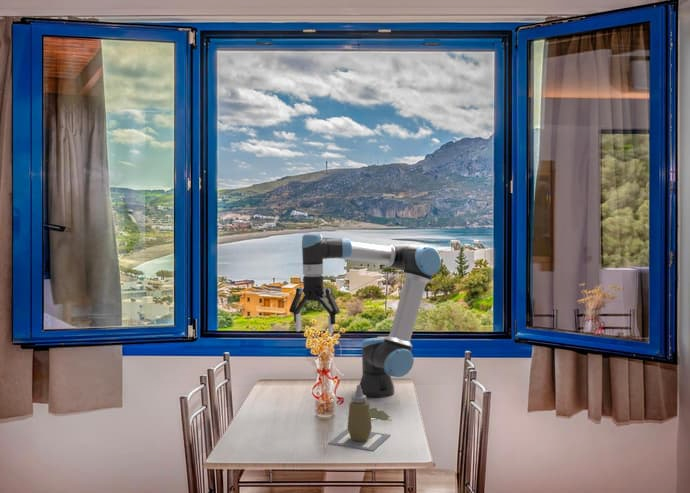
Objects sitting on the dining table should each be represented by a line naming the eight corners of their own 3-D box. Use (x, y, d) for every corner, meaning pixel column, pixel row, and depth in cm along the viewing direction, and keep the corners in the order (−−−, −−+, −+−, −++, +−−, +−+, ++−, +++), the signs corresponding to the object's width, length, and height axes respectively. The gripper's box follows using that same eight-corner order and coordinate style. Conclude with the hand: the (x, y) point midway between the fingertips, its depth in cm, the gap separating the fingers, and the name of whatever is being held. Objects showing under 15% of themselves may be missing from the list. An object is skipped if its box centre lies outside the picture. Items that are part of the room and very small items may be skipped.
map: (369, 428, 212) (369, 425, 212) (354, 412, 229) (354, 409, 229) (398, 425, 215) (398, 422, 215) (381, 409, 232) (381, 407, 232)
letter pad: (347, 429, 210) (347, 428, 210) (390, 435, 203) (390, 434, 203) (328, 443, 197) (328, 443, 197) (373, 451, 190) (373, 450, 190)
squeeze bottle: (366, 444, 195) (365, 389, 194) (343, 441, 198) (342, 387, 197) (375, 436, 202) (374, 383, 201) (353, 433, 205) (352, 381, 205)
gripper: (279, 275, 226) (280, 331, 227) (338, 277, 215) (340, 335, 216) (289, 273, 233) (291, 328, 234) (347, 275, 222) (349, 331, 223)
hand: (314, 332), depth 225 cm, fingers open, 13 cm apart
